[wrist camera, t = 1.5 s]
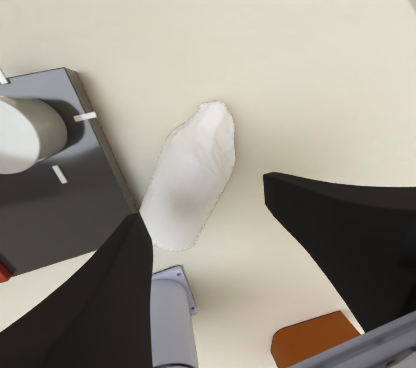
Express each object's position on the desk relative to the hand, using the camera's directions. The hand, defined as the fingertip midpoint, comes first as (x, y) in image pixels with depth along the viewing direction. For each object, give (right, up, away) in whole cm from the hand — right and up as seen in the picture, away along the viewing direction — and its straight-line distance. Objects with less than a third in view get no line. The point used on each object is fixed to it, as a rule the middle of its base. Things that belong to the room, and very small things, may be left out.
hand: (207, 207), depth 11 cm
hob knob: (-12, +5, +2) cm, 13 cm away
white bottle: (-2, +3, +8) cm, 9 cm away
